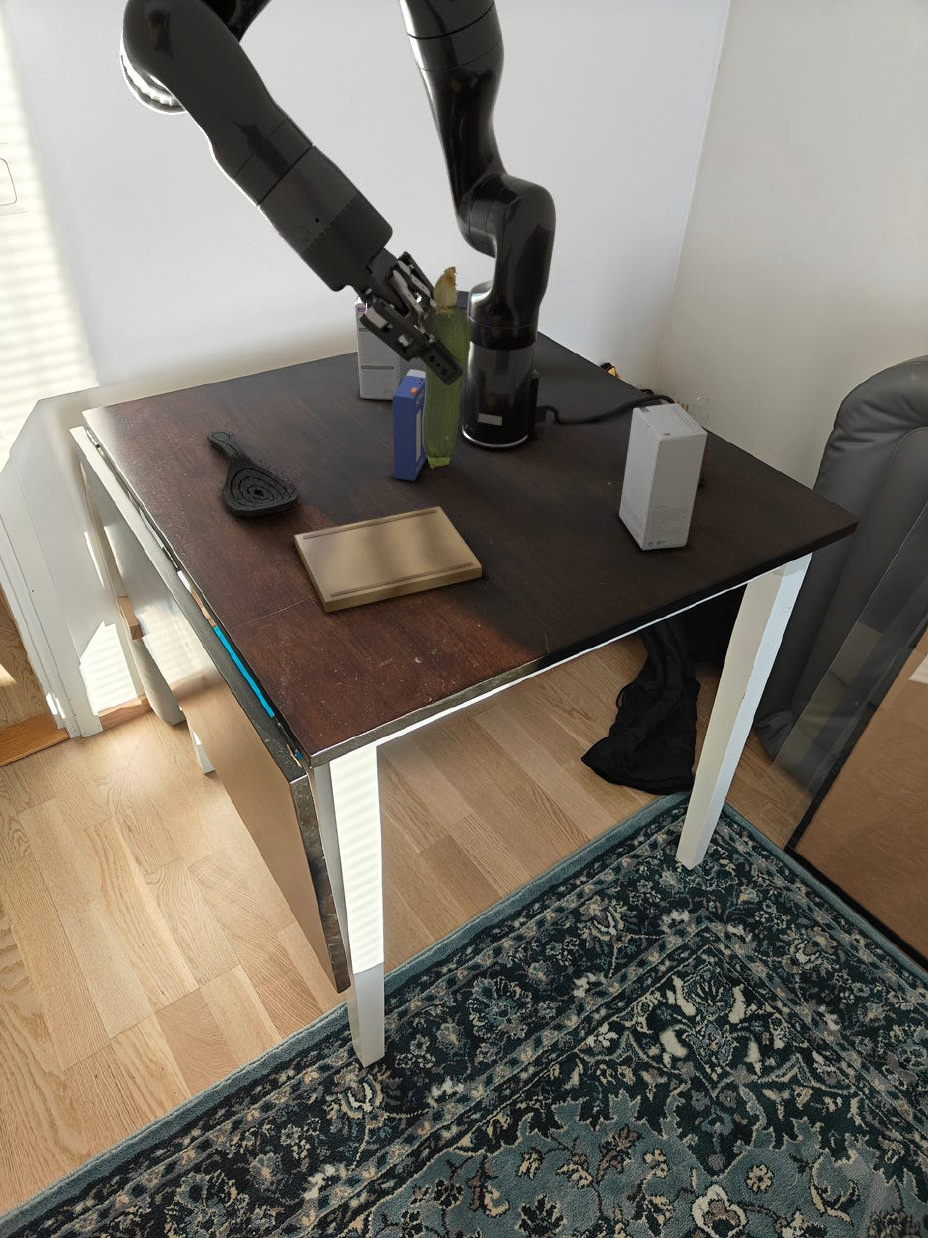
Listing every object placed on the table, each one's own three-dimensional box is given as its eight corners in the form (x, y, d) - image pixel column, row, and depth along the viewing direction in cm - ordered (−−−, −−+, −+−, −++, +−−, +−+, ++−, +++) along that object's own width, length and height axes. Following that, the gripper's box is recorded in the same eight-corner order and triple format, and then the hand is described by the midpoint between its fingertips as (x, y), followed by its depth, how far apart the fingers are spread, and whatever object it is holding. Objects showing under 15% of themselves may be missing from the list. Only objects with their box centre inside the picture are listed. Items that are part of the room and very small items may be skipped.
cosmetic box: (686, 547, 104) (713, 435, 94) (638, 552, 102) (661, 439, 93) (658, 508, 110) (682, 400, 100) (614, 513, 109) (633, 403, 99)
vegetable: (420, 452, 90) (422, 252, 77) (461, 452, 90) (471, 253, 77) (422, 475, 86) (425, 270, 74) (465, 474, 87) (476, 270, 74)
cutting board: (439, 516, 107) (439, 505, 106) (481, 577, 98) (482, 565, 97) (295, 545, 101) (294, 534, 100) (326, 613, 92) (325, 601, 91)
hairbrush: (241, 410, 120) (309, 490, 103) (245, 435, 122) (312, 517, 105) (181, 423, 116) (241, 508, 99) (186, 448, 119) (246, 535, 102)
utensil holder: (709, 478, 116) (730, 394, 108) (683, 496, 112) (703, 411, 104) (671, 461, 119) (689, 379, 111) (645, 478, 115) (662, 394, 107)
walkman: (414, 481, 113) (414, 395, 105) (394, 478, 113) (392, 392, 105) (430, 452, 118) (431, 368, 111) (410, 449, 119) (410, 365, 111)
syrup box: (398, 400, 130) (396, 303, 120) (359, 398, 130) (354, 301, 120) (401, 383, 134) (399, 288, 125) (363, 381, 134) (358, 287, 125)
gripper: (334, 213, 67) (482, 375, 74) (372, 167, 78) (497, 312, 85) (274, 277, 71) (420, 425, 78) (318, 225, 82) (442, 359, 89)
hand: (459, 365), depth 81 cm, fingers closed on vegetable, 4 cm apart
